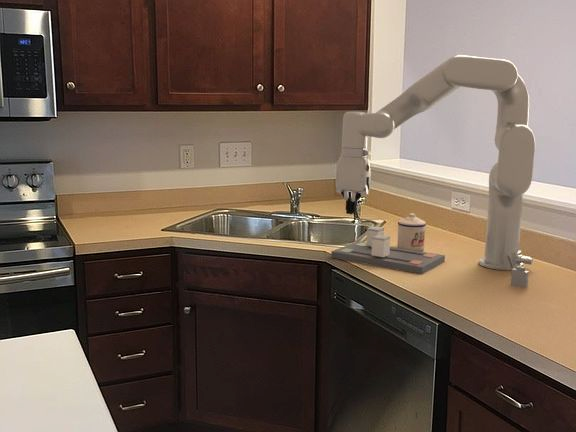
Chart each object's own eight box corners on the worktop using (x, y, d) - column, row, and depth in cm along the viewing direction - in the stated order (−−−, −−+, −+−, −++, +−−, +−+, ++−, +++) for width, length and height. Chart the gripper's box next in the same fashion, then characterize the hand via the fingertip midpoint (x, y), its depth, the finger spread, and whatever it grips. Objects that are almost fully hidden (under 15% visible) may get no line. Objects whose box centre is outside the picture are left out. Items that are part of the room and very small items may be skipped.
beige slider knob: (389, 254, 197) (390, 236, 196) (383, 257, 194) (384, 238, 192) (377, 252, 199) (378, 234, 198) (371, 255, 196) (372, 237, 195)
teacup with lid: (414, 253, 209) (415, 217, 207) (390, 248, 215) (392, 213, 213) (435, 247, 217) (437, 213, 215) (412, 242, 223) (413, 209, 221)
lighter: (527, 286, 175) (530, 257, 174) (525, 288, 174) (527, 259, 172) (502, 281, 180) (504, 253, 178) (499, 282, 178) (501, 254, 177)
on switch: (383, 245, 209) (384, 228, 208) (377, 247, 206) (378, 230, 204) (372, 243, 211) (372, 226, 210) (366, 245, 208) (366, 228, 207)
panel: (444, 261, 199) (445, 254, 199) (422, 274, 186) (422, 266, 185) (357, 247, 216) (357, 240, 216) (331, 257, 202) (331, 250, 202)
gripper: (382, 154, 195) (378, 215, 199) (338, 150, 203) (336, 208, 207) (370, 156, 189) (366, 218, 193) (326, 152, 197) (323, 211, 201)
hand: (350, 213), depth 200 cm, fingers closed
